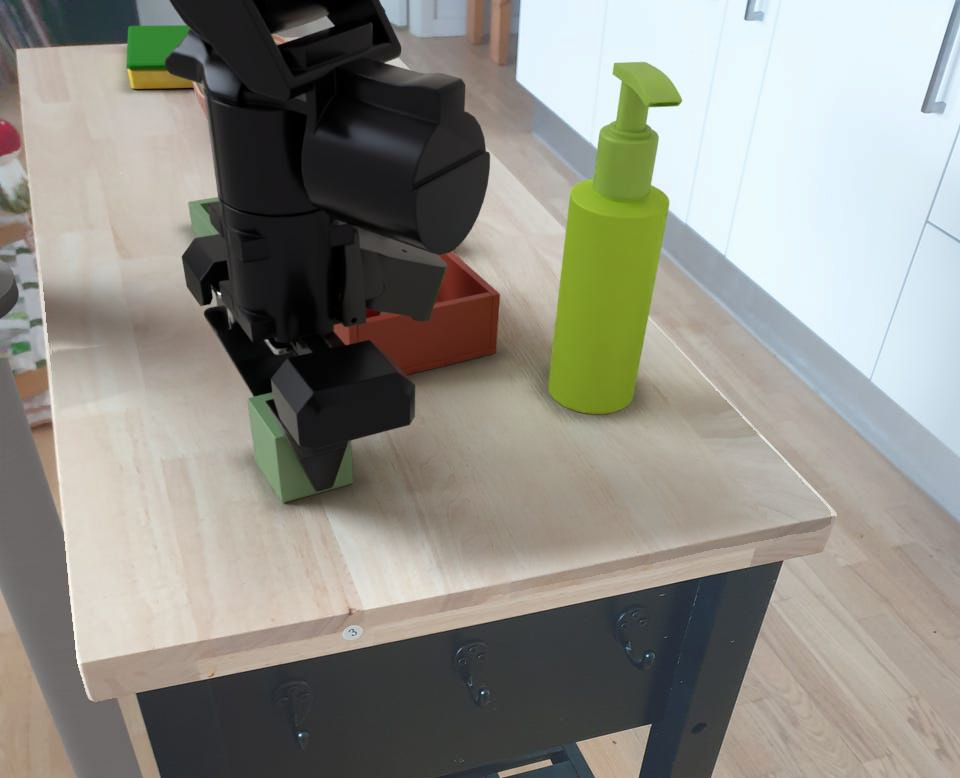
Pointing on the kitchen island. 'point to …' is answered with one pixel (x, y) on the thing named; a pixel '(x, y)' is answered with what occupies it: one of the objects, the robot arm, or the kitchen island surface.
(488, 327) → the red bin
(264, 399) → the green block
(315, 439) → the robot arm
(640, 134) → the soap dispenser
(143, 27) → the dish sponge
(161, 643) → the kitchen island surface
